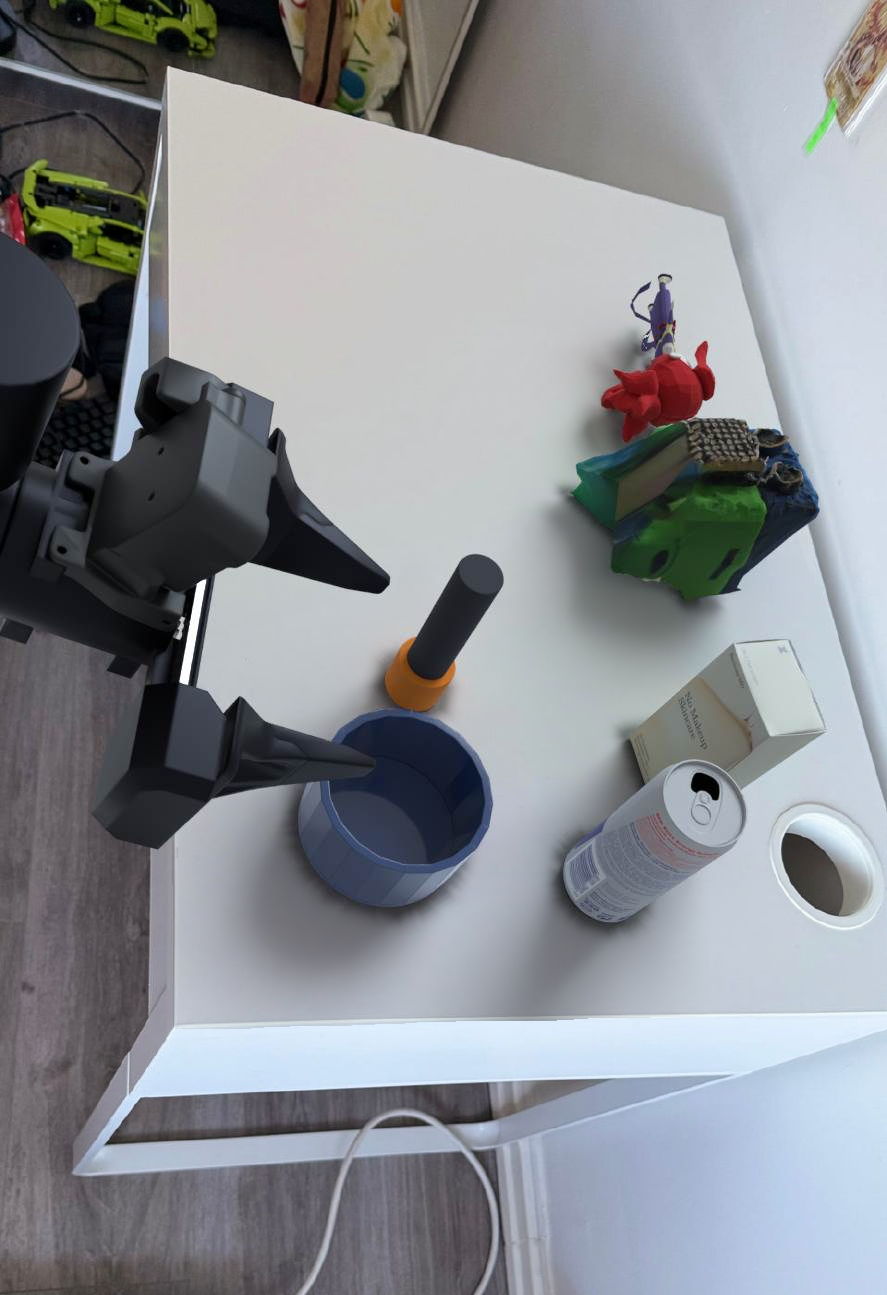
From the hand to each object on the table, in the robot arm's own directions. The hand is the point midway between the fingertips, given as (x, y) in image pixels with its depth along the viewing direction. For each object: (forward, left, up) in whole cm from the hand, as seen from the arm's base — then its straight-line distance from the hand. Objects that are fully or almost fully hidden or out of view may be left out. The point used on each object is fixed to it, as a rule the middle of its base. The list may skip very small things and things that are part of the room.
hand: (378, 673), depth 47 cm
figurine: (+17, +45, -17) cm, 51 cm away
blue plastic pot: (+5, +1, -17) cm, 18 cm away
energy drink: (+19, +2, -17) cm, 26 cm away
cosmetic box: (+23, +11, -17) cm, 31 cm away
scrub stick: (+5, +11, -17) cm, 21 cm away
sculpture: (+20, +30, -17) cm, 40 cm away
